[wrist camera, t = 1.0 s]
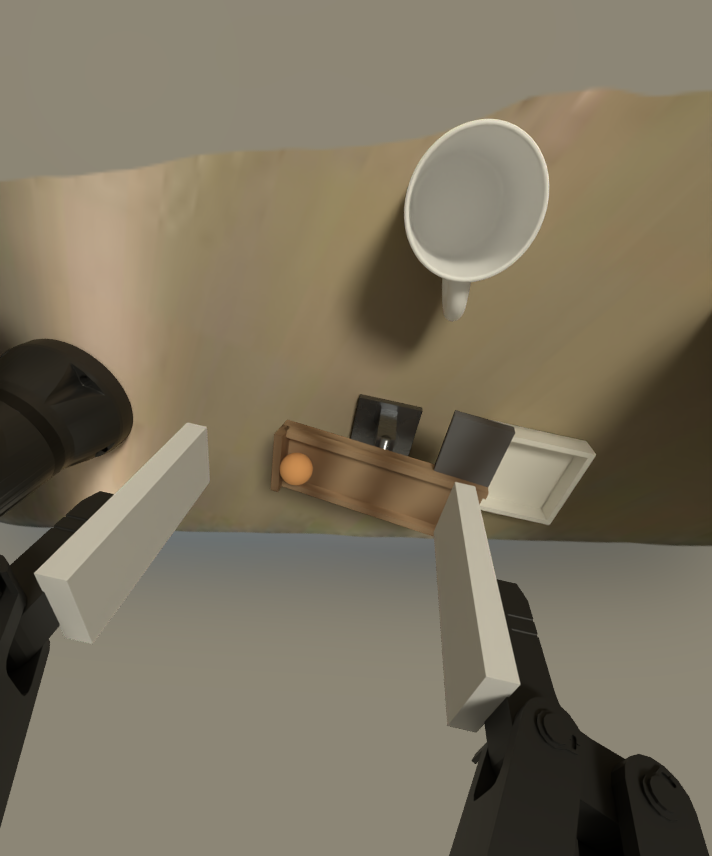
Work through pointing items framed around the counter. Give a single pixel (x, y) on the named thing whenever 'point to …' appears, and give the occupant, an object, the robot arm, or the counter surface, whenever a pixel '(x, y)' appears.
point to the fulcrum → (386, 424)
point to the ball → (296, 469)
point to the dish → (537, 475)
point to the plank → (394, 470)
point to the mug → (475, 205)
